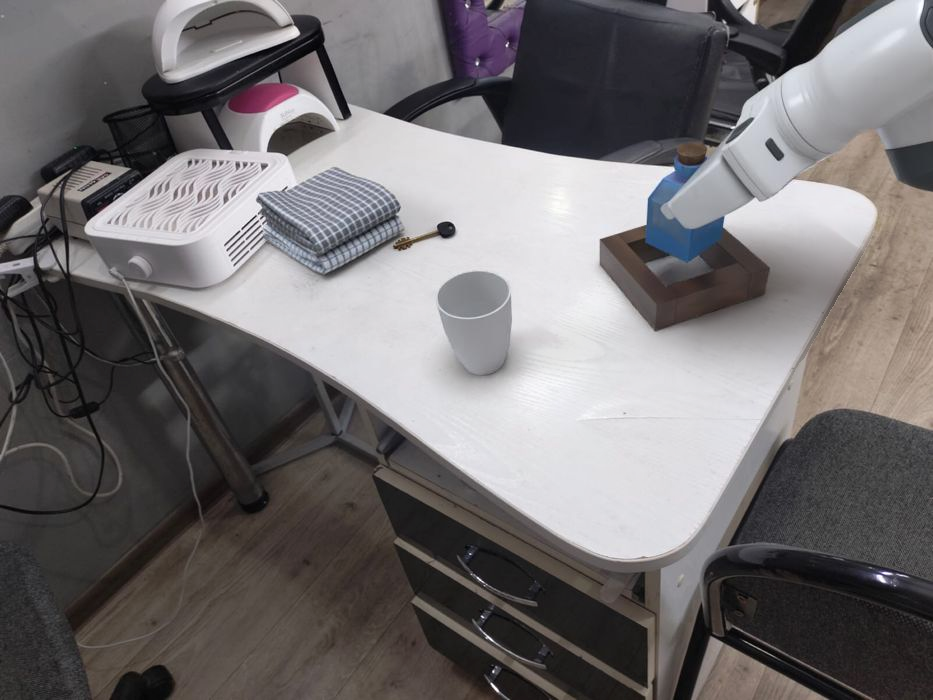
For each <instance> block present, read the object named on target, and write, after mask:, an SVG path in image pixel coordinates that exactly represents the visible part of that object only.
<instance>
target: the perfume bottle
mask: <svg viewBox="0 0 933 700" xmlns="http://www.w3.org/2000/svg"><path fill="white" fill-rule="evenodd" d="M707 152H708V146H706V144H705V143H701V142H698V141H688V142H684V143H683V142H682V143H681V144H679V145H678V146H677V148H676V153H677V155H676V156H675V157H674V161H673V163H674V164H673V169H674V171H672V172H671V173H669V174H667V175H665V176H664V177H663V178H662V179H661V180H660V182H659V183H658V184H657V185H656V187H655V188H654V190H653V191H652V192H651V194H650V195H649V196H648V197H647V206H646V223H645V225H646V243H648V244H650V245H652V246H654V247H656V248H658V249H660V250H662V251H664V252H666V253H668V254H670V255H669V256H672V257H674V258H677V259H678V260H681V261H683V262H685V263H687V264H688V263H689V262H692V260H694V259H695V258H697V257H698V256H700V255H699V254H701V253H702V252H704V251H705V250H706V249H708V248H709V247H711V246H712V245H713V244H715V243H716V242H718V241H719V240H721V238H722V231H723V227H724V224H725V216H726V215H725V216H723V217H721V218H719V219H717V220H714V221H712V222H710V223H708V224H706V225H703V226H701V227H699V228H696V229H686V228H684V227H683V226H682V225H681V223H680V222H679V221H678V220H677V219H676V217H675V218H673V219H667V218H666V217H665V215H664V214H663V213H662V212H661V207H662V206H663V204H664V203H665V202H666V201H667V200H669V199H671V198H672V197H673V196H674V195H675V194H676V193H677V192H678V191H679V190H680V189H681V188H682V186H683V185H684V184H685V183H686V182H687V181H688V180H689V179H690V178H691V176H692V175H693V174H694V173H695V172H696V171H697V170H698V169H699V167H700V166H701V165H702V164H703V163H704V162H705V161H706V160H707V158H708V156H707Z"/></svg>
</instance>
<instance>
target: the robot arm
mask: <svg viewBox="0 0 933 700" xmlns="http://www.w3.org/2000/svg"><path fill="white" fill-rule="evenodd" d="M870 131H871V132H872V131H875V132H876V134H877V136H878V137H879V140H880V141H881V143H882V144H883V147H884V148H885V149H884V153H885V154H886V157H887V159H888V162H889V164H890V166H891V168H892V171H893V174H894V176H895V178H896V180H897V182H900V183H901V184H903V185H906V186H909V187H911V188H914V189H918V190H921V191H924V192H925V191H926V192H930V193H933V0H874V1H873V2H871V4H869V5H868V6H866V7H865V8H864V9H862V10H861V11H859V12H858V13H856V15H854V16H852V17H851V18H850V19H848V20H847V21H846V22H844V23H843V24H841V25H840V26H838V28H837V30H836V32H835V34H834V36H833V38H832V40H830V41H828V43H826V45H825V46H824V48H823V49H822V50H821V51H820V52H819V53H818V54H817V55H816V56H814V57H813V58H812V59H810V60H809V61H807V62H805V63H802V64H798V65H796V66H794V67H792V68H791V69H789V70H788V71H786V72H785V73H783V74H782V75H781V76H779V77H778V78H776V79H775V80H774V81H772V82H771V83H770V84H767V86H765V87H764V88H762V89H761V90H759V91H758V92H757V93H754V95H753V96H751V97H750V98H748V99H747V100H745V102H744V104H743V106H742V109H741V114H740V117H739V119H738V120H737V122H736V124H735V127H734V128H733V129H732V130H731V132H729V134H727V136H726V137H725V138H723V140H722V141H721V143H719V144H718V145H717V147H716V148H715V149H714V150H713V151H712V152H711V154H710V155H709V156H707V160H706V161H705V162H704V163H703V164H702V165H701V166H700V167H699V169H698V170H697V171H696V172H695V173H694V174H693V175H692V176H691V178H690V179H689V180H688V181H687V182H686V183H685V184H684V185H683V186H682V188H681V189H680V190H679V191H678V192H677V193H676V194H675V195H674V196H673V197H672V198H671V199H669V200H667V201H666V202H665V203H664V204H663V206H662V207H661V212H662V213H663V214H664V215H665V217H666V218H667V219H673V218H675V217H676V219H677V220H678V221H679V222H680V223H681V225H682V226H683V227H684V228H686V229H696V228H699V227H701V226H703V225H706V224H708V223H710V222H712V221H714V220H717V219H719V218H721V217H723V216H727V215H729V214H731V213H733V212H734V211H737V210H739V209H740V208H743V207H745V206H746V205H748V204H749V203H751V201H753V200H755V199H756V200H757V201H758V202H760V203H763V202H766V201H767V200H769V199H771V198H772V197H774V196H776V195H778V193H779V192H780V191H782V190H783V189H784V188H786V186H787V185H789V184H790V183H791V182H792V181H793V180H794V179H795V178H797V177H798V176H799V175H801V174H802V173H804V172H806V171H808V170H810V169H812V168H813V167H815V166H816V165H817V164H818V163H820V162H822V161H823V160H826V159H827V158H829V157H831V156H833V155H834V154H836V153H838V152H840V151H841V150H843V149H844V148H845V147H847V146H848V145H849V143H851V141H852V140H854V139H856V137H858V136H860V135H862V134H864V133H866V132H870Z"/></svg>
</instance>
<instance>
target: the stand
mask: <svg viewBox="0 0 933 700" xmlns="http://www.w3.org/2000/svg"><path fill="white" fill-rule="evenodd" d="M667 256H671V255H670V254H668V253H666V252H664V251H662V250H660V249H658V248H656V247H654V246H652V245H650V244H648V243H646V224H644V225H641V226H638V227H637V226H636V227H635V228H631V229H627V230H625V231H622V232H618V233H614V234H611V235H608V236H605V237H602V238H599V265H600V267H601V268H602V269H603V270H604V271H605V273H606V274H607V275H608V276H609V277H610V279H611V280H612V281H613V282H614V284H616V286H617V287H618V288H619V290H620V291H621V292H622V293H623V295H624V296H625V297H626V298H627V299H628V300H629V302H630V303H631V304H632V305H633V307H634V308H635V310H637V311H638V312H639V314H640V315H641V316H642V318H643V319H644V320H645V321H646V323H648V325H649V326H650V327H651V328H652V330H653V331H656V332H657V331H659V330H661V329H664V328H668V327H671V326H674V325H677V324H680V323H683V322H685V321H688V320H691V319H695V318H699V317H701V316H704V315H707V314H710V313H713V312H716V311H719V310H722V309H725V308H728V307H732V306H734V305H737V304H740V303H743V302H746V301H749V300H752V299H755V298H758V297H761V296H764V295H765V294H766V290H767V284H768V280H769V275H770V271H771V267H770V266H769V265H767V263H765V262H764V261H763V260H762V259H761V258H759V257H758V256H757V255H756V254H755V253H753V251H752V250H750V249H749V248H748V247H747V246H746V245H745V244H744V243H742V242H741V241H740V240H739V239H738V238H736V236H734V235H733V234H732V233H731V232H730V231H729V230H727V229H726V228H725V227H724V226H723V231H722V238H721V240H719V241H718V242H716V243H715V244H713V245H712V246H711V247H709V248H708V249H706V250H705V251H704V252H702V253H701V254H699V255H698V256H699V257H700V258H701V259H702V260H703V261H705V262H706V264H708V265H709V266H710V267H711V268H712V269H713V270H711V271H708V272H705V273H702V274H700V275H697V276H693V277H690V278H687V279H684V280H680V281H677V282H675V283H671V284H667V285H665V284H664V283H663V282H662V281H661V279H660V278H659V277H658V276H657V275H656V274H655V273H654V272H653V271H652V270H651V269H650V267H649V266H648V265H647V264H646V263H648V262H651V261H655V260H659V259H661V258H664V257H667Z"/></svg>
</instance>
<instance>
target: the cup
mask: <svg viewBox="0 0 933 700" xmlns="http://www.w3.org/2000/svg"><path fill="white" fill-rule="evenodd" d="M511 289H512V288H511V285H510V283H509V281H508V280H507V279H506V278H505V277H504V276H503V275H501V274H499V273H497V272H494V271H490V270H483V269H482V270H481V269H475V270H467V271H463V272H459V273H457V274H455V275H452V276H451V277H449V278H448V279H446V280H445V281H444V282H443V283H442V284H440V285H439V287H438V289H437V290H436V294H435V304H436V307H437V310H438V314H439V317H440V320H441V324H442V328H443V330H444V333H445V335H446V337H447V340H448V343H449V344H450V347H451V349H452V351H453V353H454V355H455V357H456V359H458V361H459V362H460V364H461V365H462V366H463V368H464V369H465V370H466V371H467V372H469V373H470V374H472V375H476V376H477V375H478V376H485V375H490V374H493V373H495V372H497V371H498V370H500V369H501V368H502V367H503V365H504V364H505V361H506V358H507V355H508V352H509V348H510V345H511V344H510V343H511V335H512V323H513V312H512V311H513V310H512V309H513V308H512V290H511Z"/></svg>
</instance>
